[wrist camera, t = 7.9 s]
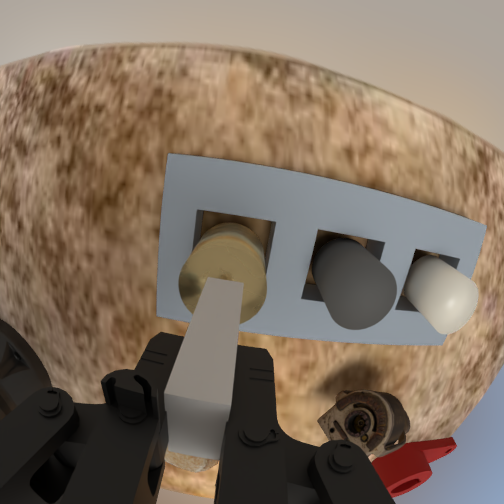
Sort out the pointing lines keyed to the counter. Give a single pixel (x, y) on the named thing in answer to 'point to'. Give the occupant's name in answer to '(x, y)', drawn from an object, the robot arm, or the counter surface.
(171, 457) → the stone
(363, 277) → the dark gray cylinder
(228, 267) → the gold cylinder
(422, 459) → the lever
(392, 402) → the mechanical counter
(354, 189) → the grey slotted holder
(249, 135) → the counter surface
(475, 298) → the white rounded cylinder
